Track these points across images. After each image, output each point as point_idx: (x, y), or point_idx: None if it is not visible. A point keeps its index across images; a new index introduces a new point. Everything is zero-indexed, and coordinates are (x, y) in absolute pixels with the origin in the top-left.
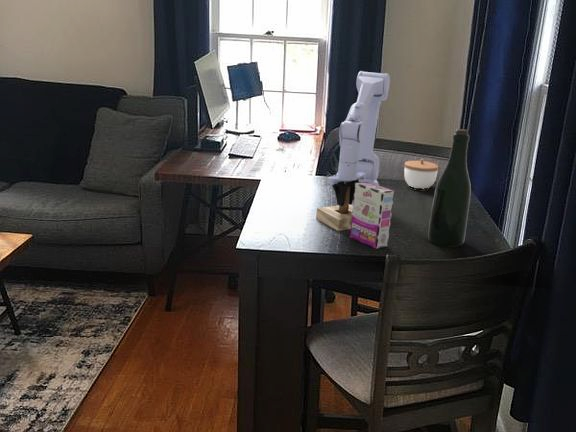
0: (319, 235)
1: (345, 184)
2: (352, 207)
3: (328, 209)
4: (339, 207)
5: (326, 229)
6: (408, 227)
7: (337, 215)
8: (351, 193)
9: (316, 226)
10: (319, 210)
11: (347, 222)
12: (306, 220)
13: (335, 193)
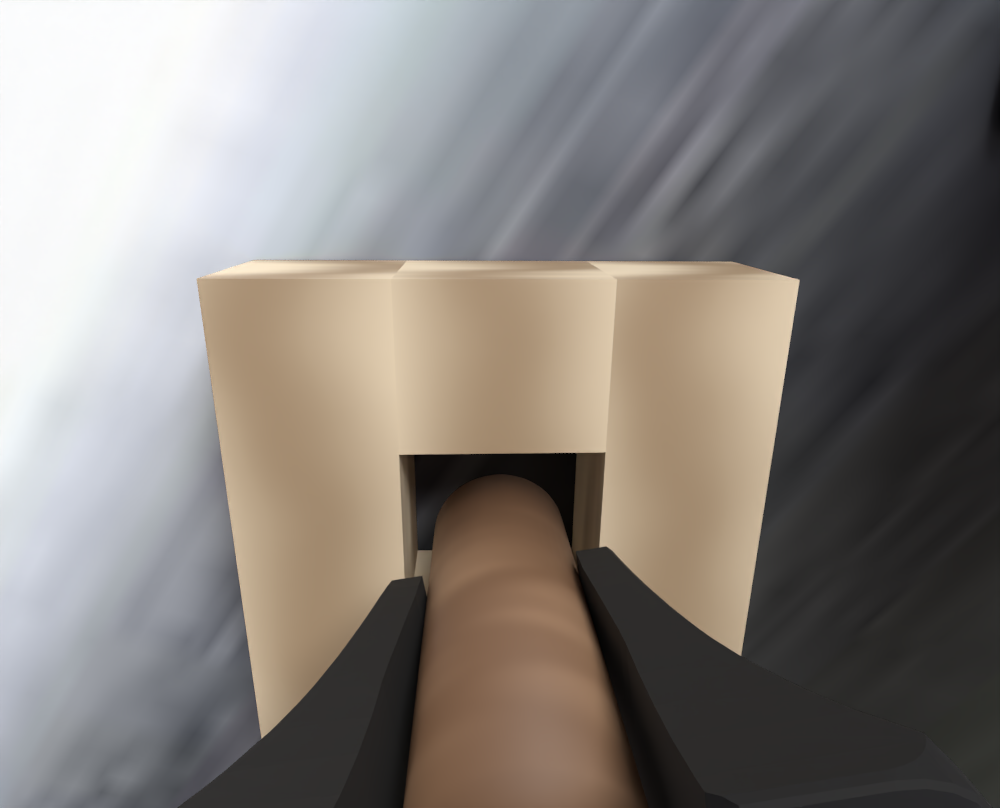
0: (58, 701)
1: (675, 758)
2: (742, 429)
3: (342, 399)
4: (431, 563)
5: (204, 595)
6: (981, 757)
7: (328, 638)
8: (644, 783)
9: (136, 491)
10: (213, 349)
11: None
12: (100, 274)
13: (296, 711)
